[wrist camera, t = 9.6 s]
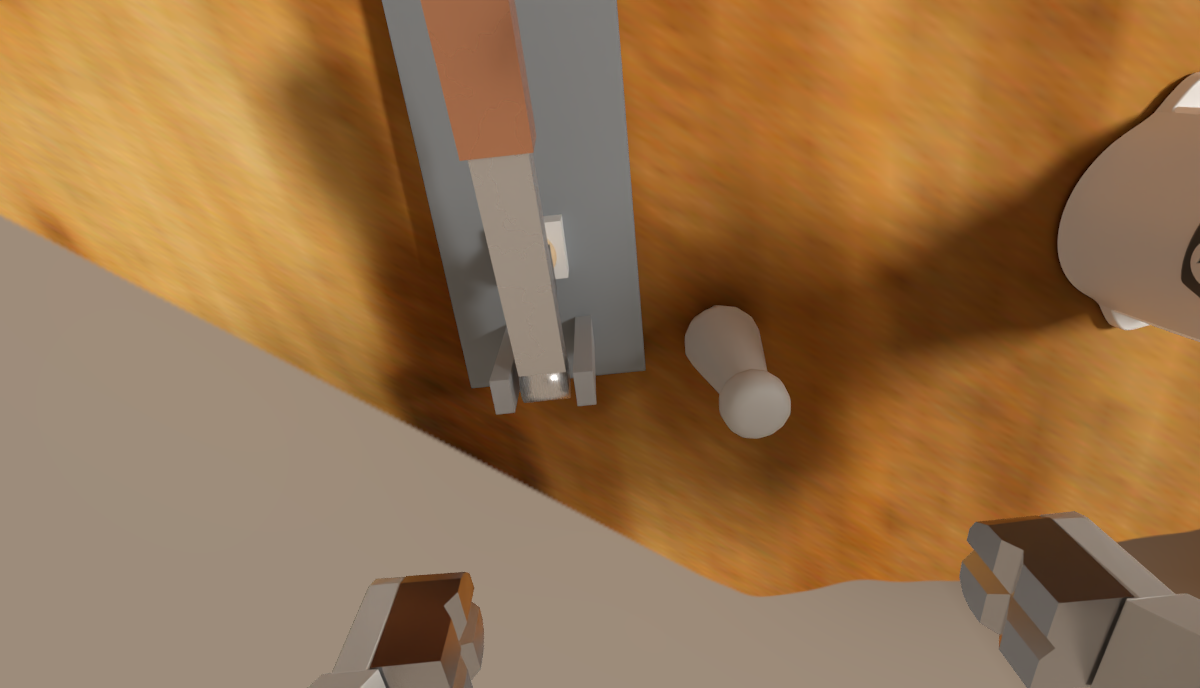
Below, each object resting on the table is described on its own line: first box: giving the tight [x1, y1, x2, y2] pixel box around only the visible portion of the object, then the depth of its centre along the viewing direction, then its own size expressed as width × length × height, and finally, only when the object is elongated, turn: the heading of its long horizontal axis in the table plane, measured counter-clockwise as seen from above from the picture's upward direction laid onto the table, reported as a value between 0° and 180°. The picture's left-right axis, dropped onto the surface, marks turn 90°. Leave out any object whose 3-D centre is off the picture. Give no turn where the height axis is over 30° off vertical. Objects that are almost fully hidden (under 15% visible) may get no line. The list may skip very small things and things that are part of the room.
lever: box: [420, 0, 571, 403], centre depth 31 cm, size 26×4×4 cm, turn 6°
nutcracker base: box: [382, 0, 646, 415], centre depth 36 cm, size 28×14×11 cm, turn 6°
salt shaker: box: [685, 305, 791, 439], centre depth 40 cm, size 6×6×13 cm
